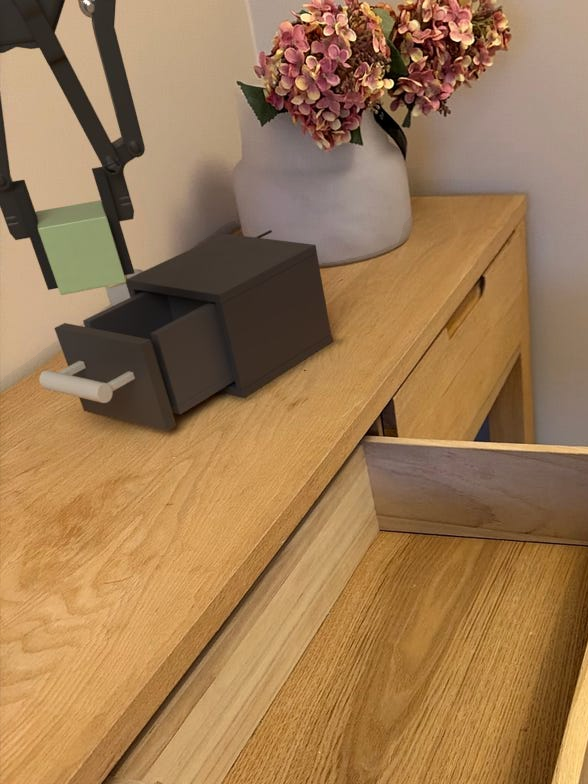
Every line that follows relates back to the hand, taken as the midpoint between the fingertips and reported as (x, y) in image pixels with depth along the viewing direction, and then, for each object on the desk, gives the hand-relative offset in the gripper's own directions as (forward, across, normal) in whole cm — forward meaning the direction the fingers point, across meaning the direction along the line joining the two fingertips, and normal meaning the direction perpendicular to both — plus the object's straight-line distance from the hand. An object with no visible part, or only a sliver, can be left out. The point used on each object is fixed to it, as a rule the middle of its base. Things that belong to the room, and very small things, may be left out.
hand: (90, 275), depth 70 cm
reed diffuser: (+17, +10, +36) cm, 41 cm away
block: (0, 0, 0) cm, 0 cm away
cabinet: (+16, +11, +20) cm, 28 cm away
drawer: (+16, +2, +12) cm, 20 cm away
